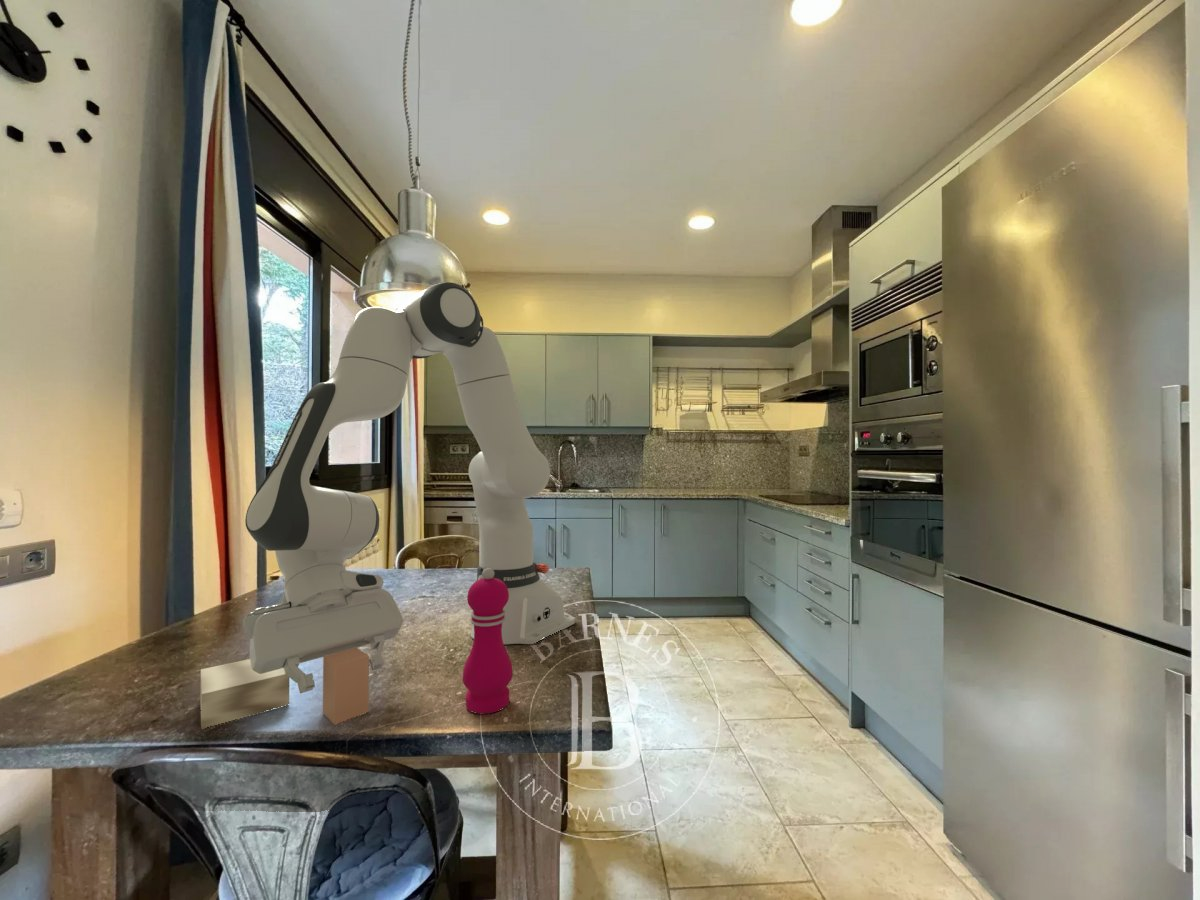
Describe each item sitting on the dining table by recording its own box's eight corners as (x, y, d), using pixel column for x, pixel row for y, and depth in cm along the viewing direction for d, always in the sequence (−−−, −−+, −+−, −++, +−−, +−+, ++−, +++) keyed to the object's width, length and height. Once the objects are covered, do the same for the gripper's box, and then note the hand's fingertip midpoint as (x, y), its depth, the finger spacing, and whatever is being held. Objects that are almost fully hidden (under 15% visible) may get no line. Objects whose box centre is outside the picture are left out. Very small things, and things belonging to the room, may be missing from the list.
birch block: (279, 683, 79) (280, 652, 79) (289, 707, 72) (289, 673, 72) (200, 703, 73) (200, 669, 73) (201, 731, 65) (201, 694, 65)
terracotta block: (355, 701, 73) (356, 647, 73) (368, 712, 70) (369, 655, 70) (322, 713, 69) (323, 656, 70) (334, 724, 66) (335, 665, 67)
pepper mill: (467, 693, 75) (468, 563, 76) (515, 691, 76) (515, 562, 76) (457, 717, 68) (458, 573, 69) (509, 715, 69) (510, 573, 69)
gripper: (244, 598, 67) (263, 693, 61) (390, 573, 83) (418, 646, 76) (236, 624, 70) (253, 716, 64) (379, 595, 86) (404, 667, 79)
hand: (344, 678), depth 70 cm, fingers open, 8 cm apart
